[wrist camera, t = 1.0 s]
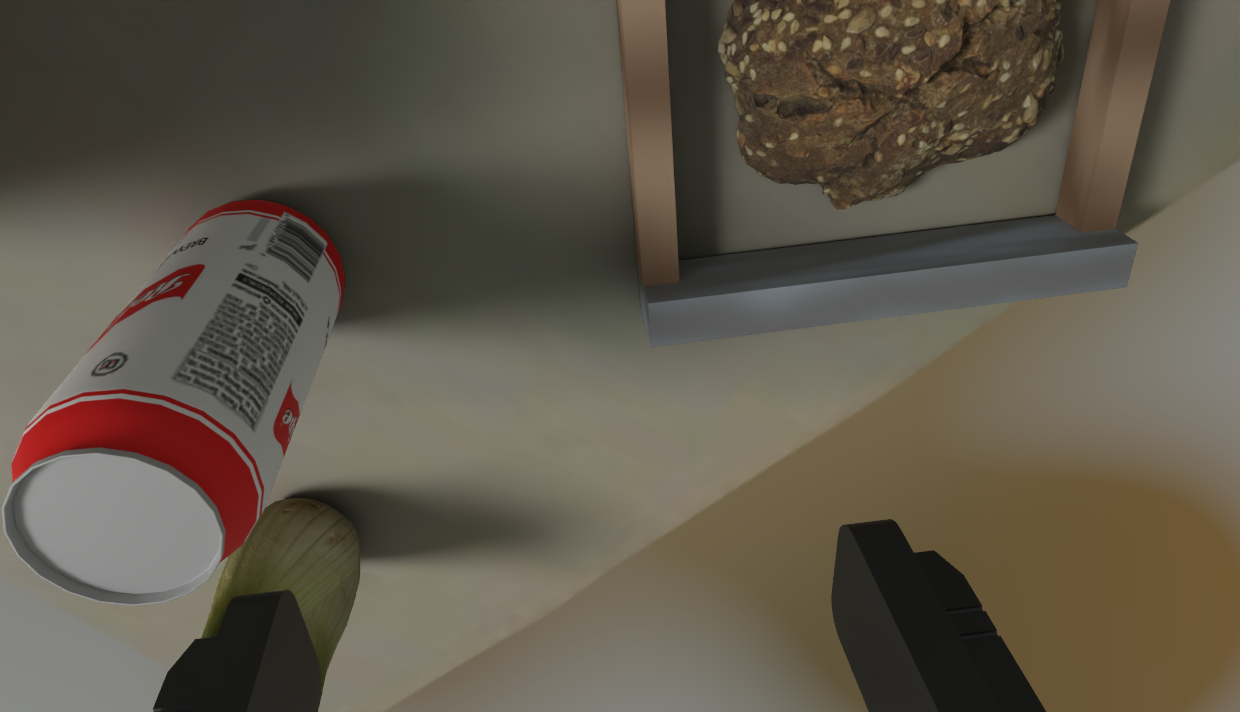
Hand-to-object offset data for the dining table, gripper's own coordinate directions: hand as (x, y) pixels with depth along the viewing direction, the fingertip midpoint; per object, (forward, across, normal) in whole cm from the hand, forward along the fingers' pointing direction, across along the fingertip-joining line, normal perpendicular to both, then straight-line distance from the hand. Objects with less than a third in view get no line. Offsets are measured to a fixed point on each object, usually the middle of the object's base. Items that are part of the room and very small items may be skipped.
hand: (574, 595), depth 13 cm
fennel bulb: (+24, +13, +19) cm, 33 cm away
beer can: (+24, +11, +5) cm, 27 cm away
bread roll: (+25, -14, -2) cm, 28 cm away
